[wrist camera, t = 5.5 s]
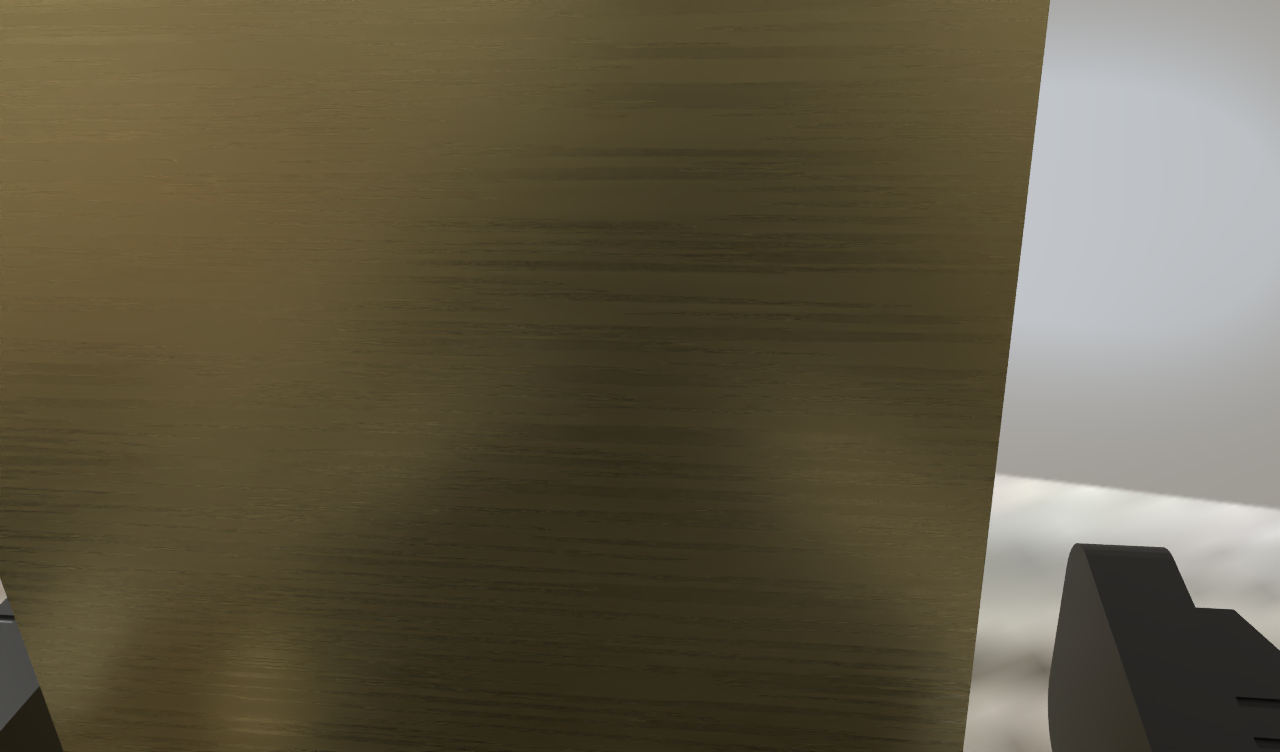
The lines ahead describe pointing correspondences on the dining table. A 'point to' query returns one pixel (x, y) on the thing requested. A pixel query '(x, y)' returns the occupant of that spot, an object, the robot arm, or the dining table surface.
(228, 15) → the tan tall block
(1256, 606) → the dining table surface
